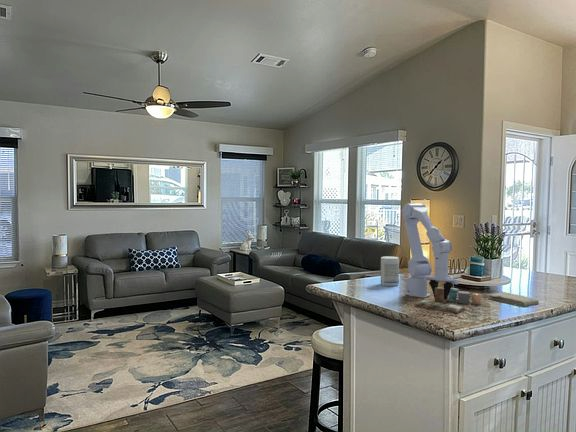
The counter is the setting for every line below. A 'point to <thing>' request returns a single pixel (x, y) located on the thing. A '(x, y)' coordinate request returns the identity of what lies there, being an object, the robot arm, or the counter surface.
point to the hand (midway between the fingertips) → (440, 298)
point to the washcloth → (513, 299)
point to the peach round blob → (476, 298)
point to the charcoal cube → (463, 297)
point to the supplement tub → (390, 271)
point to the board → (440, 306)
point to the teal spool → (453, 294)
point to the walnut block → (439, 295)
